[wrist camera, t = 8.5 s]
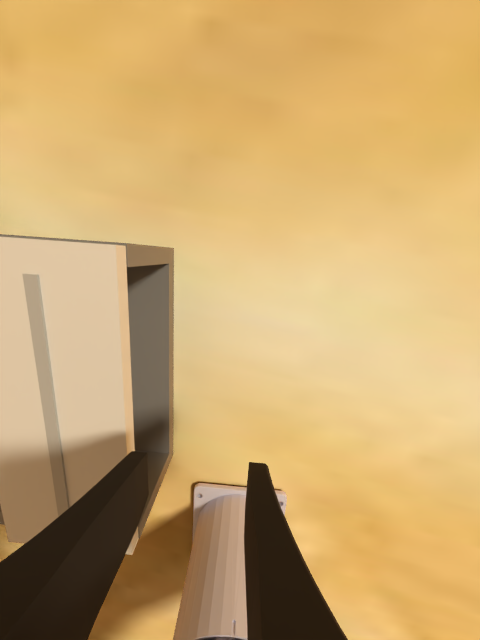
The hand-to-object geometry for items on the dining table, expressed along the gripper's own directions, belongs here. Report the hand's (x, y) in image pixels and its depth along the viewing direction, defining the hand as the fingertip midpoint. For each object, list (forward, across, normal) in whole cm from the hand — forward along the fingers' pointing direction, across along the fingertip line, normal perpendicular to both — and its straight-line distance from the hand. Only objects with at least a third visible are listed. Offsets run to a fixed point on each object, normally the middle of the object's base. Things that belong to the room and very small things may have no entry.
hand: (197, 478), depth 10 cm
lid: (+3, +8, 0) cm, 8 cm away
